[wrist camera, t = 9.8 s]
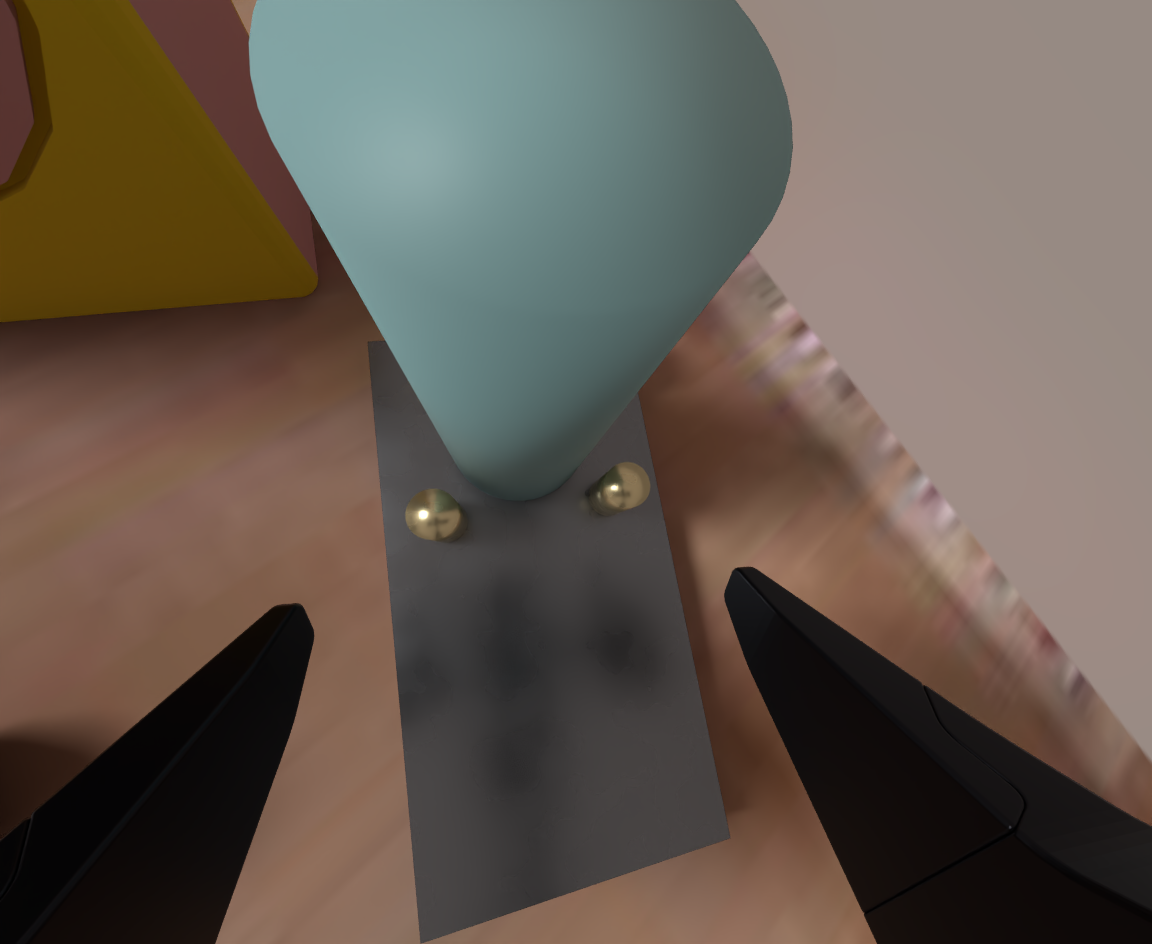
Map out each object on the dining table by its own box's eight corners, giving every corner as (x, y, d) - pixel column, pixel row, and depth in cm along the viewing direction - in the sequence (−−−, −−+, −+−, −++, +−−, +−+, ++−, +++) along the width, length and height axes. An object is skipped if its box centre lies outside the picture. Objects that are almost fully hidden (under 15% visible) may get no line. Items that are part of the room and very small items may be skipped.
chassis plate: (710, 813, 17) (783, 905, 12) (429, 904, 14) (395, 1055, 10) (615, 340, 20) (645, 281, 16) (379, 359, 18) (337, 296, 14)
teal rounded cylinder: (608, 462, 17) (880, 209, 5) (487, 525, 16) (410, 411, 3) (546, 351, 18) (639, -144, 5) (424, 403, 16) (153, -93, 4)
